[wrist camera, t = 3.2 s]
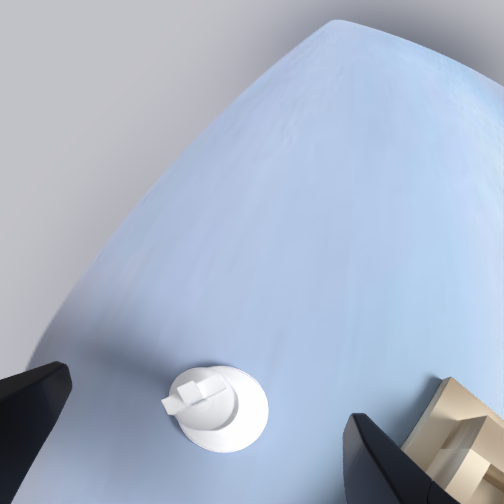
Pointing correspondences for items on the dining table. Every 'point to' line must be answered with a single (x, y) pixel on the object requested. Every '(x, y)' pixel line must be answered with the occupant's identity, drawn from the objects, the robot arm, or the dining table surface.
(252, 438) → the chess piece
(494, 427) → the socket block
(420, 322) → the dining table surface
